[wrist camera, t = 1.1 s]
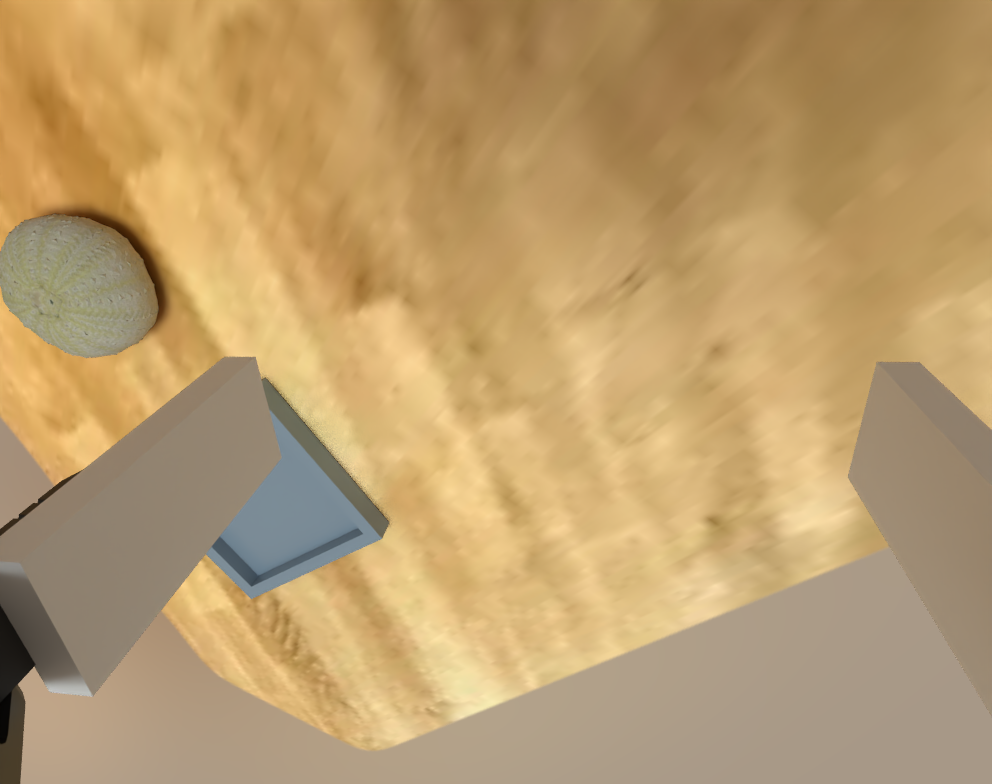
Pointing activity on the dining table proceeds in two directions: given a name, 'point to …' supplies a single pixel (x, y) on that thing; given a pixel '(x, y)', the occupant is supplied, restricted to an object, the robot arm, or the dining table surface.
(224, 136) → the dining table surface
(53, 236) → the sea urchin shell
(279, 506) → the tray
